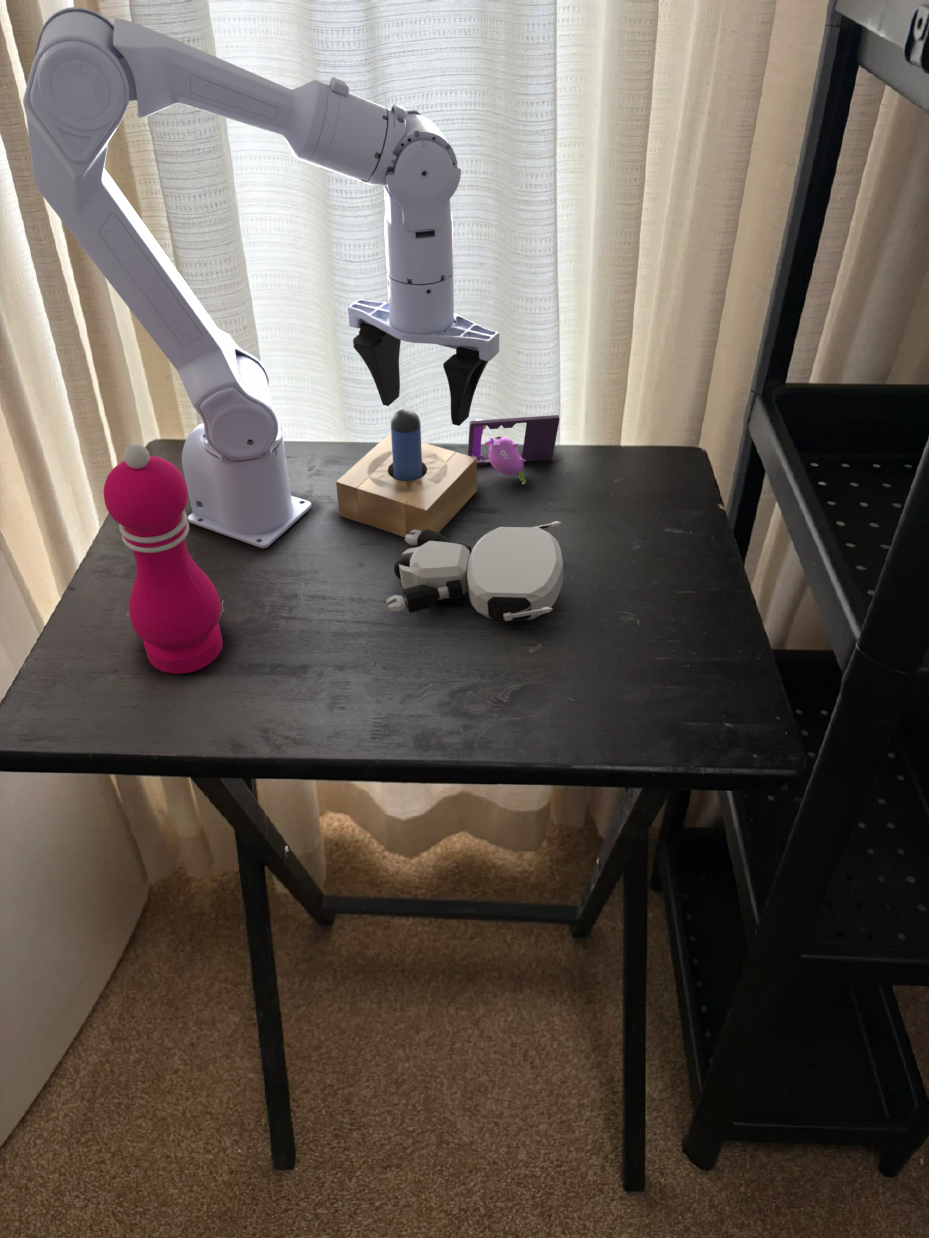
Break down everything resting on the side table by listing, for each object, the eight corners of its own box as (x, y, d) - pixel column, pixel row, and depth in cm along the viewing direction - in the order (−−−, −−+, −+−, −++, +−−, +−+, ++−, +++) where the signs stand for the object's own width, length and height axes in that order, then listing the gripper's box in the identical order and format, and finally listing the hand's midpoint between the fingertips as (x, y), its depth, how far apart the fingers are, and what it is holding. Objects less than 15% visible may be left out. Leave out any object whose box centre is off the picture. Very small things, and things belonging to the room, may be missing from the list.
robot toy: (385, 638, 89) (559, 644, 87) (378, 598, 86) (558, 603, 84) (409, 551, 98) (567, 554, 96) (403, 512, 95) (567, 515, 93)
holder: (339, 515, 101) (335, 481, 98) (392, 465, 108) (390, 432, 105) (427, 545, 98) (426, 510, 95) (476, 491, 104) (477, 457, 102)
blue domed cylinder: (390, 507, 102) (384, 415, 95) (402, 492, 104) (397, 401, 97) (416, 513, 101) (412, 421, 94) (427, 498, 103) (424, 406, 96)
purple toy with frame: (558, 409, 103) (468, 415, 102) (566, 450, 101) (475, 457, 100) (550, 451, 109) (466, 457, 108) (558, 491, 107) (472, 497, 106)
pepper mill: (228, 615, 90) (186, 415, 77) (229, 673, 85) (184, 468, 72) (144, 625, 89) (86, 424, 76) (139, 684, 84) (76, 479, 71)
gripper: (516, 270, 89) (512, 409, 98) (373, 239, 94) (382, 374, 103) (478, 302, 84) (477, 445, 93) (329, 268, 89) (343, 406, 98)
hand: (425, 410), depth 98 cm, fingers open, 7 cm apart
